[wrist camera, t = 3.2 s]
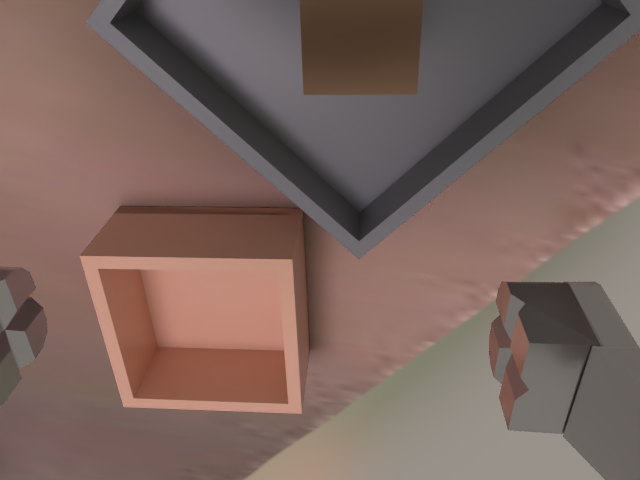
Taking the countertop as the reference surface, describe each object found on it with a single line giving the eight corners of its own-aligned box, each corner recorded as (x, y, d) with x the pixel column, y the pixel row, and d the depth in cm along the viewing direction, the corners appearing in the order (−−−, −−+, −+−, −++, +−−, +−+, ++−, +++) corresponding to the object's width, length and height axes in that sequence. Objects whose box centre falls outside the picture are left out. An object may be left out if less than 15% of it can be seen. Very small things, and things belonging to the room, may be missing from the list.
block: (313, -45, 23) (298, -30, 18) (412, -48, 23) (425, -33, 18) (316, 55, 25) (303, 95, 20) (406, 54, 25) (417, 94, 20)
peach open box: (119, 206, 31) (79, 255, 26) (303, 208, 30) (292, 259, 26) (152, 346, 36) (123, 406, 31) (309, 351, 35) (301, 413, 31)
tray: (118, 9, 25) (85, 23, 22) (365, -345, 19) (365, -391, 16) (359, 223, 30) (358, 259, 27) (622, 0, 24) (658, 14, 21)
